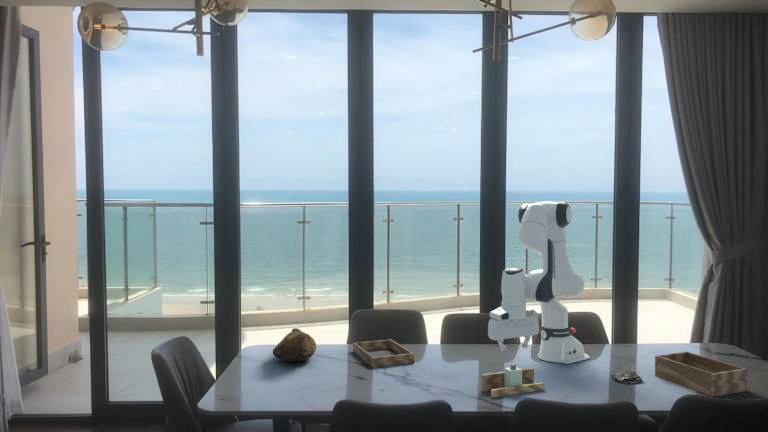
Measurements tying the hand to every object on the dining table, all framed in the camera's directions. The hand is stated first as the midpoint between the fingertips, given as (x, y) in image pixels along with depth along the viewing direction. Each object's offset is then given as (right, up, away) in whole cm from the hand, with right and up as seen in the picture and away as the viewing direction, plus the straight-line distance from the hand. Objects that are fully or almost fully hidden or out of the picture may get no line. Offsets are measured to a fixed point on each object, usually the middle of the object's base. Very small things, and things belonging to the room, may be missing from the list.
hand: (514, 349), depth 211 cm
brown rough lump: (-87, -15, +41) cm, 97 cm away
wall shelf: (0, -15, 0) cm, 15 cm away
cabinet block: (0, -15, 0) cm, 15 cm away
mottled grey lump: (+47, -15, +12) cm, 51 cm away
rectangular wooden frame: (-49, -14, +45) cm, 68 cm away
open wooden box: (+73, -15, +8) cm, 75 cm away
